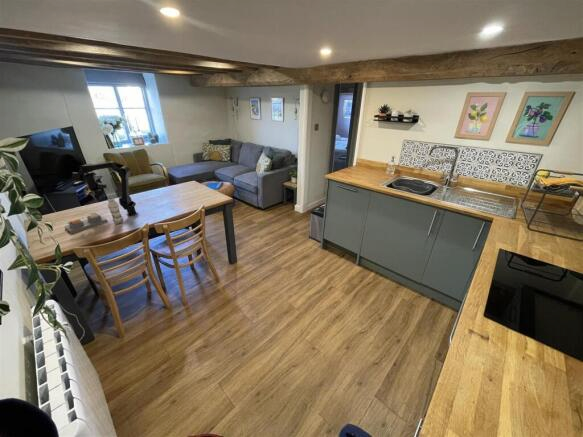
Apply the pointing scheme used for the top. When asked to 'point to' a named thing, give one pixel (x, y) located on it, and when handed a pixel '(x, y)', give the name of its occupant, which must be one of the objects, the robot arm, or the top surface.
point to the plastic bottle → (115, 211)
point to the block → (85, 224)
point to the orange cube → (74, 220)
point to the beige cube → (93, 215)
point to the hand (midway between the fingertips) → (98, 200)
